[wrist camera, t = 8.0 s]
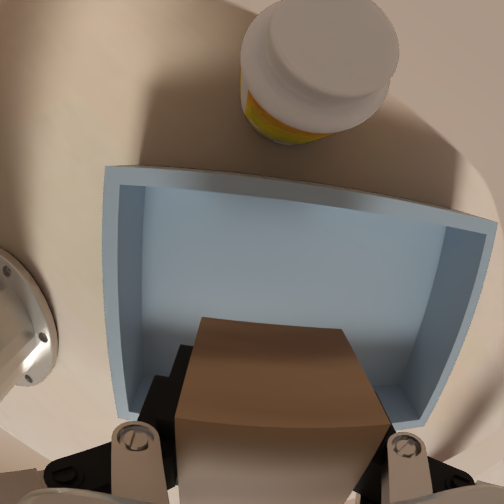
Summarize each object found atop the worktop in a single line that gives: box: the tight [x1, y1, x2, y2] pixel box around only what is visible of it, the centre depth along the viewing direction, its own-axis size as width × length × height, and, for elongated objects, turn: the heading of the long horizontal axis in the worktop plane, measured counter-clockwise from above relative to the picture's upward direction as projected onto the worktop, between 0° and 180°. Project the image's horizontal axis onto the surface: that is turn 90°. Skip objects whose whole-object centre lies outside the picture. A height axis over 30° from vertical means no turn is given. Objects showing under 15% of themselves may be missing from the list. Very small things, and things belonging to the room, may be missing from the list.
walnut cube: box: [175, 317, 391, 504], centre depth 9 cm, size 5×5×5 cm
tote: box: [102, 165, 498, 430], centre depth 18 cm, size 21×15×5 cm
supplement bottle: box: [240, 0, 399, 145], centre depth 12 cm, size 6×6×10 cm
